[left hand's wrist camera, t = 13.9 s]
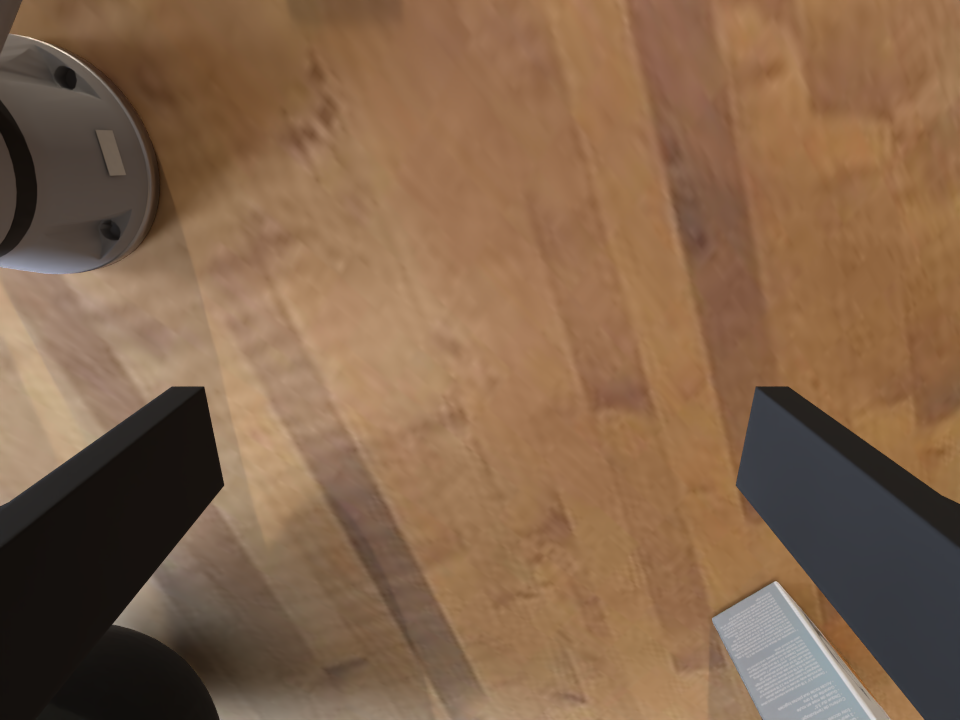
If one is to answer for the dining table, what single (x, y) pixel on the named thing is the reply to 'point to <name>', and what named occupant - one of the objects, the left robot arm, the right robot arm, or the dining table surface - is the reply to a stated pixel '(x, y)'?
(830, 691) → the hard drive box
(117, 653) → the sphere
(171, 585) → the dining table surface
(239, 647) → the dining table surface
